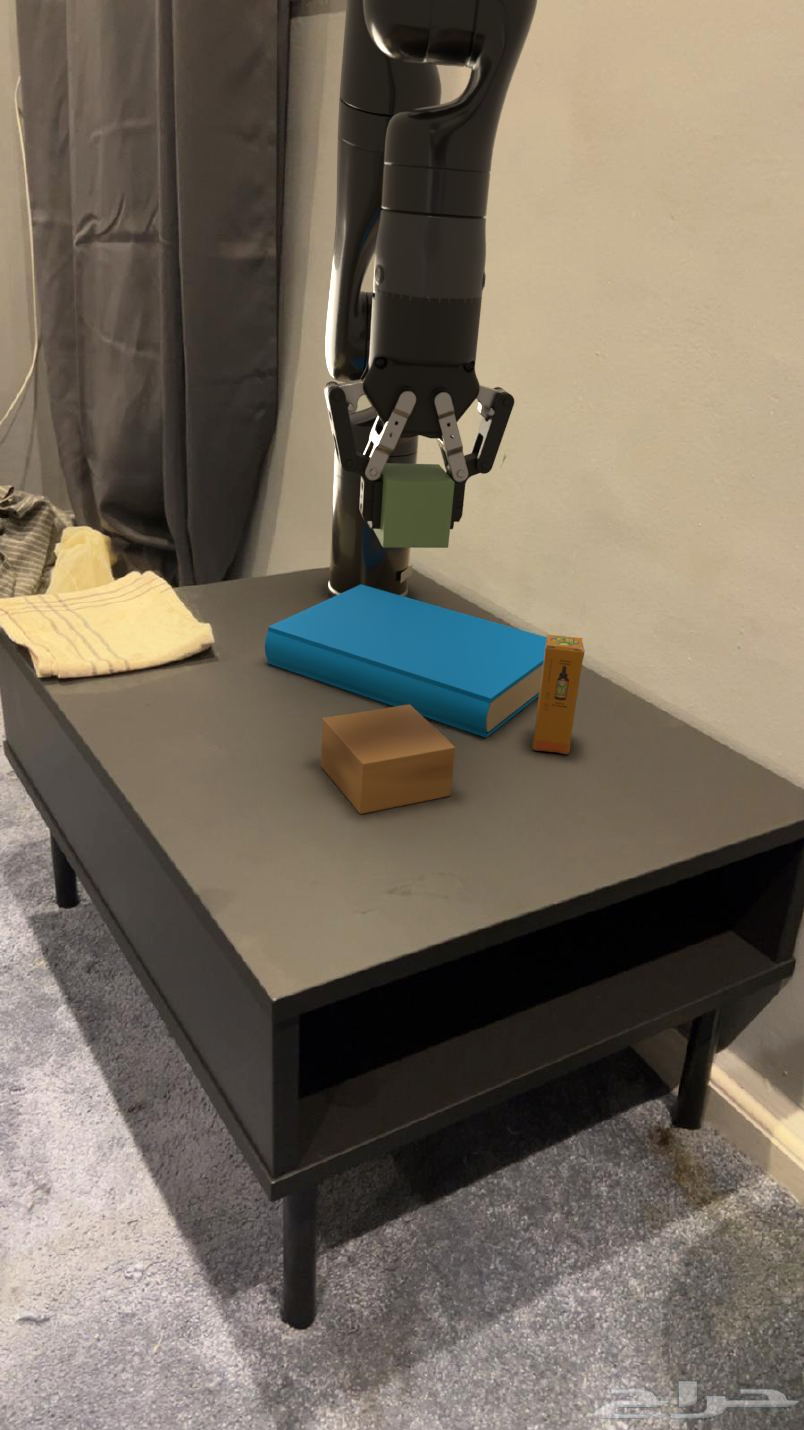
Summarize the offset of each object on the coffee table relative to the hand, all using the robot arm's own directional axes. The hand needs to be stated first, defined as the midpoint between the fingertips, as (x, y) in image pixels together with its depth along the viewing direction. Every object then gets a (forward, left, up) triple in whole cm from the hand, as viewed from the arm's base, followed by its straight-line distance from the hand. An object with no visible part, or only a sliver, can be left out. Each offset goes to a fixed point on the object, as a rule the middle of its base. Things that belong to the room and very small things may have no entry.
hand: (409, 525), depth 80 cm
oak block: (+3, -1, -20) cm, 21 cm away
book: (-18, +6, -21) cm, 28 cm away
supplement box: (-2, +15, -21) cm, 25 cm away
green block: (0, 0, -1) cm, 1 cm away
